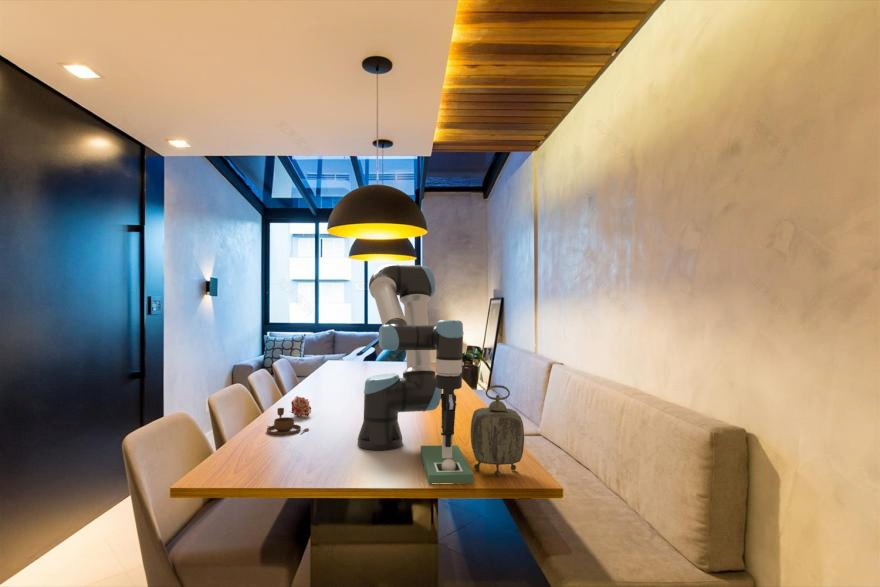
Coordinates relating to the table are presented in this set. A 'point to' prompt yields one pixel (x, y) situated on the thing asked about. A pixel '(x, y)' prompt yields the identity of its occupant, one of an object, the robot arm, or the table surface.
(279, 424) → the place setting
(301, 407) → the flower
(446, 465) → the ball
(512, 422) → the tabletop clock
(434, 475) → the green slotted plate
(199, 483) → the table surface
